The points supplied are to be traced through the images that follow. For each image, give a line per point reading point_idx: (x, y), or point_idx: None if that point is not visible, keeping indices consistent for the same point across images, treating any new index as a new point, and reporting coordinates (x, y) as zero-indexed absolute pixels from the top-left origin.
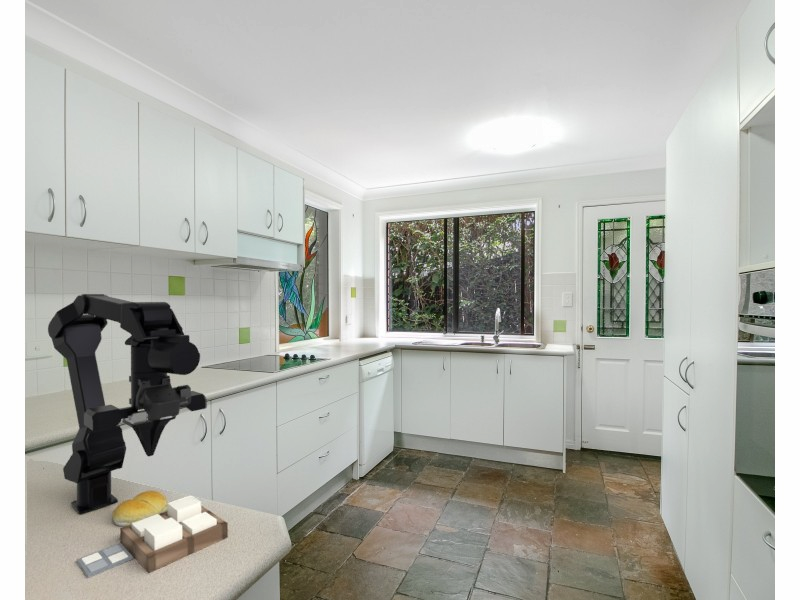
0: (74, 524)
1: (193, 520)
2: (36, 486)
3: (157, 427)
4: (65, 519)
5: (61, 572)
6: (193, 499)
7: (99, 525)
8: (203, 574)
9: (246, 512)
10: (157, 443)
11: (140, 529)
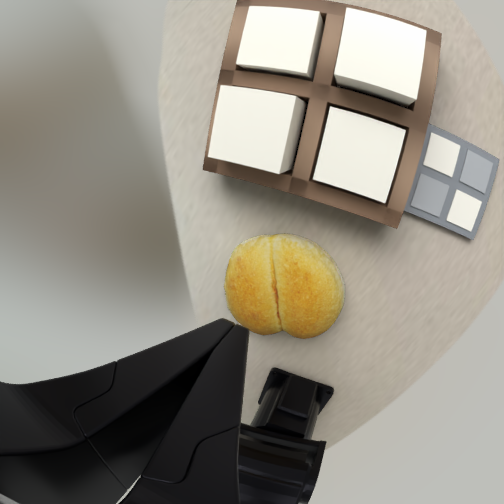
0: (364, 370)
1: (286, 46)
2: None
3: (63, 435)
4: (354, 394)
5: (498, 232)
6: (222, 120)
7: (353, 328)
8: None
9: (162, 69)
10: (161, 343)
11: (397, 144)
